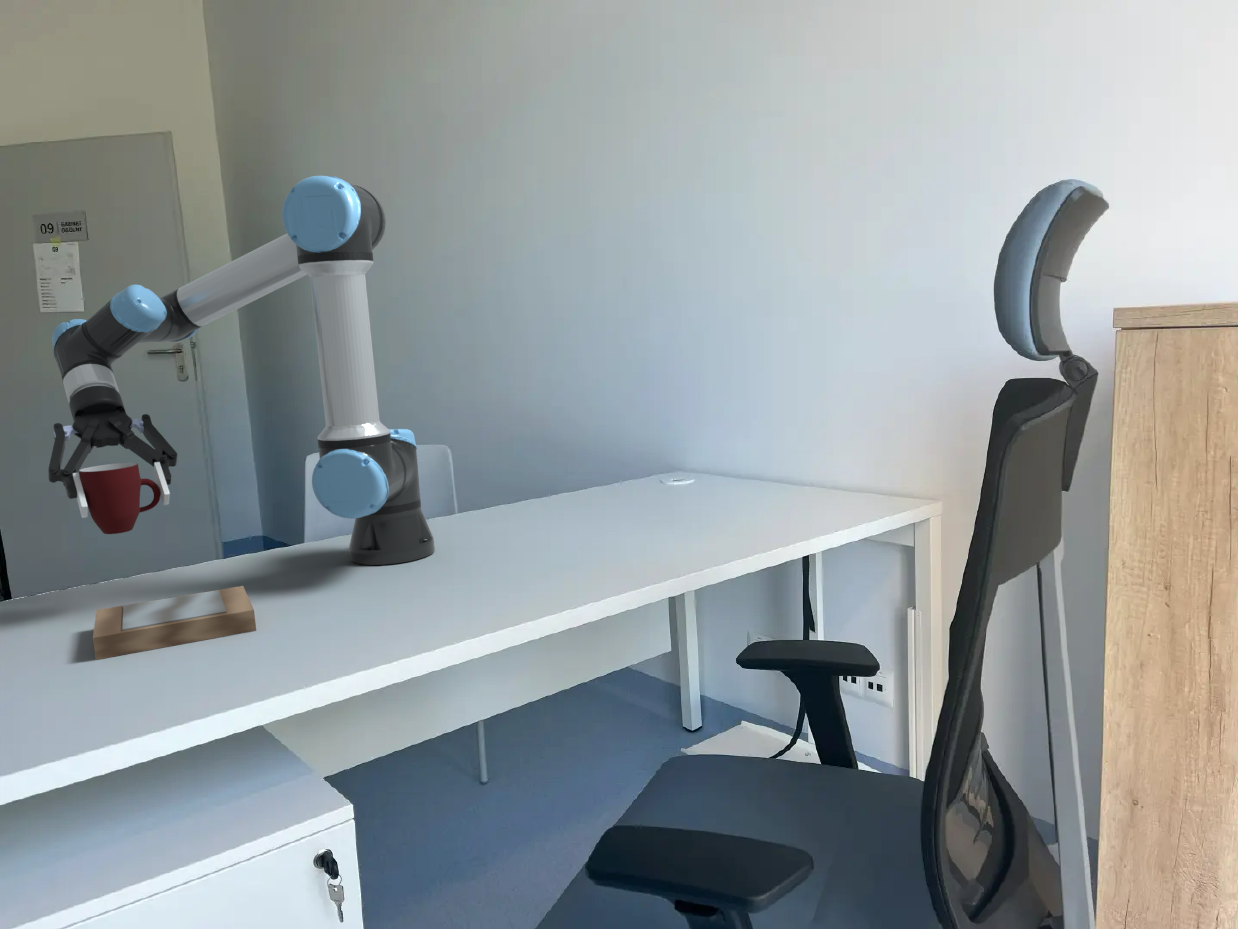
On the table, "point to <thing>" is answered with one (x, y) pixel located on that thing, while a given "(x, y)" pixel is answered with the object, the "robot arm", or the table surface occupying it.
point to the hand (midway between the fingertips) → (126, 505)
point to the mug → (115, 495)
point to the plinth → (172, 621)
